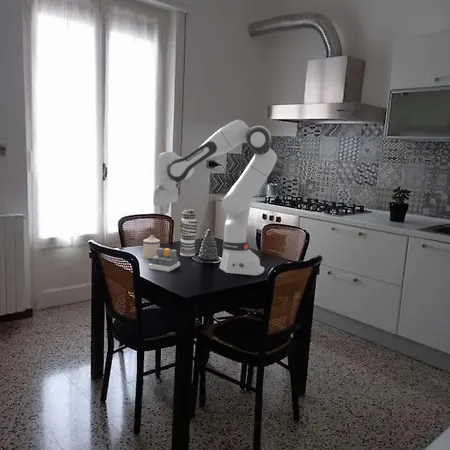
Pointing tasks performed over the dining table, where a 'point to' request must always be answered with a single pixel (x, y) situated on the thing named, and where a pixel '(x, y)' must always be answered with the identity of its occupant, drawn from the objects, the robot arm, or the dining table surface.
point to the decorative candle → (188, 233)
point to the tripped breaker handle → (167, 252)
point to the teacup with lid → (150, 247)
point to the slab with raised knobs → (164, 261)
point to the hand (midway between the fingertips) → (165, 212)
